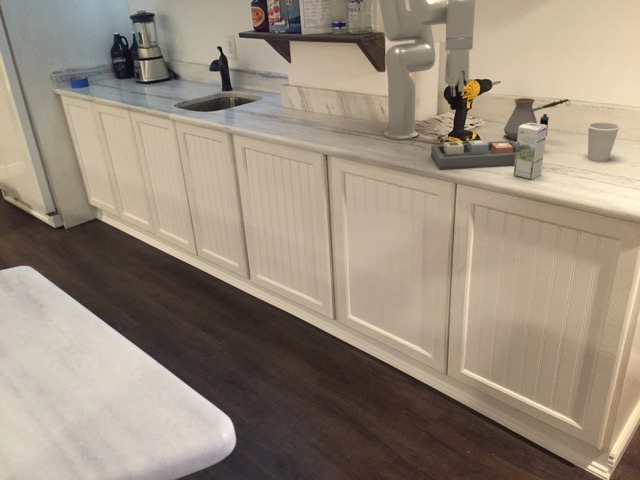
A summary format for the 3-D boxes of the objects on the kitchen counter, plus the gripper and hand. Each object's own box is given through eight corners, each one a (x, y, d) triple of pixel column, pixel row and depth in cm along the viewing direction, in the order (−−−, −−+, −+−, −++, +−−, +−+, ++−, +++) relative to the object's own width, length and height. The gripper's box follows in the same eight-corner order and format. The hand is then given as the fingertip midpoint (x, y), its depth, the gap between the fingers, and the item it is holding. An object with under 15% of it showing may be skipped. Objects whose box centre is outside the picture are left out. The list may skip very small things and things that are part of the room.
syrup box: (541, 174, 153) (548, 124, 146) (531, 180, 149) (537, 129, 143) (523, 170, 157) (528, 121, 150) (512, 176, 153) (517, 125, 147)
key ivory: (443, 149, 169) (443, 141, 168) (459, 148, 169) (460, 140, 168) (446, 154, 164) (447, 146, 163) (463, 153, 164) (463, 145, 163)
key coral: (491, 150, 169) (492, 143, 168) (507, 149, 169) (508, 142, 168) (496, 155, 164) (496, 147, 163) (512, 154, 164) (513, 146, 163)
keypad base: (431, 155, 174) (431, 145, 173) (511, 151, 174) (512, 140, 172) (439, 169, 162) (440, 158, 160) (526, 164, 161) (528, 153, 160)
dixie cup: (604, 164, 157) (610, 131, 153) (577, 158, 163) (582, 126, 159) (619, 158, 161) (625, 125, 157) (592, 152, 167) (597, 120, 163)
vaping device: (543, 153, 169) (548, 115, 164) (526, 151, 172) (530, 114, 167) (545, 151, 171) (550, 113, 166) (529, 149, 174) (533, 112, 169)
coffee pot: (496, 138, 187) (500, 94, 181) (515, 131, 194) (520, 88, 187) (553, 150, 172) (559, 102, 165) (572, 142, 178) (579, 96, 171)
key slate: (467, 148, 169) (468, 140, 167) (483, 147, 168) (484, 139, 167) (471, 153, 164) (472, 144, 163) (488, 152, 164) (488, 143, 163)
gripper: (440, 42, 159) (438, 104, 167) (451, 48, 146) (448, 115, 154) (465, 40, 159) (462, 103, 167) (479, 46, 146) (475, 114, 154)
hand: (456, 109), depth 160 cm, fingers closed
